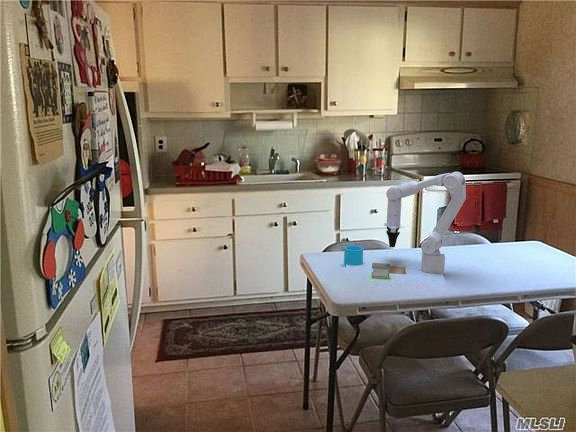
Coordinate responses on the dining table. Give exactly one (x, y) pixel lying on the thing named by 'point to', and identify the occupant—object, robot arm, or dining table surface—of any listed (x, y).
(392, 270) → the stand
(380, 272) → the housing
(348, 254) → the mug
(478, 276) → the dining table surface
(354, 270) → the dining table surface
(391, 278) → the stand
